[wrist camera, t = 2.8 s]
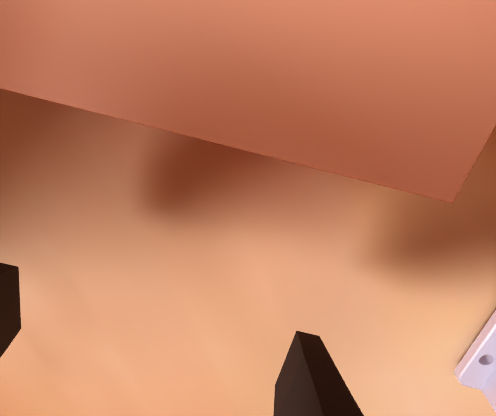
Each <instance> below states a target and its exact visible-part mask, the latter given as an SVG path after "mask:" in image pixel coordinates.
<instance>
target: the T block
mask: <svg viewBox="0 0 496 416" xmlns="http://www.w3.org/2000/svg"><path fill="white" fill-rule="evenodd" d="M0 88H1V89H5V90H9V91H13V92H17V93H21V94H24V95H28V96H32V97H36V98H40V99H44V100H48V101H52V102H56V103H60V104H64V105H68V106H72V107H76V108H80V109H83V110H87V111H91V112H95V113H99V114H103V115H107V116H111V117H115V118H119V119H123V120H127V121H131V122H135V123H139V124H142V125H146V126H150V127H154V128H158V129H162V130H166V131H170V132H174V133H178V134H182V135H186V136H190V137H194V138H198V139H201V140H205V141H209V142H213V143H217V144H221V145H225V146H229V147H233V148H237V149H241V150H245V151H249V152H253V153H256V154H260V155H264V156H268V157H272V158H276V159H280V160H284V161H288V162H292V163H296V164H300V165H304V166H308V167H312V168H315V169H319V170H323V171H327V172H331V173H335V174H339V175H343V176H347V177H351V178H355V179H359V180H363V181H367V182H371V183H374V184H378V185H382V186H386V187H390V188H394V189H398V190H402V191H406V192H410V193H414V194H418V195H422V196H426V197H430V198H433V199H437V200H441V201H445V202H449V203H453V201H454V200H455V198H456V196H457V194H458V192H459V191H460V189H461V187H462V185H463V183H464V181H465V180H466V178H467V176H468V174H469V172H470V171H471V169H472V167H473V165H474V163H475V162H476V160H477V158H478V156H479V154H480V153H481V151H482V149H483V147H484V145H485V144H486V142H487V140H488V138H489V136H490V135H491V133H492V131H493V129H494V127H495V126H496V0H0Z"/></svg>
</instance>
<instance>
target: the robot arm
mask: <svg viewBox="0 0 496 416" xmlns="http://www.w3.org/2000/svg"><path fill="white" fill-rule="evenodd" d="M20 329H21V317H20V293H19V269H18V267H17V266H12V265H8V264H3V263H0V357H1V356H2V355H3V353H4V352H5V351H6V349H7V348H8V346H9V345H10V343H11V342H12V341H13V339H14V338H15V336H16V335H17V333H18V332H19V331H20ZM454 372H455V376H456V378H457V379H458V381H459V382H460V383H461V384H462V385H464V386H467V387H471V388H475V389H479V390H481V391H482V392H483V394H484V395H485V397H486V398H487V400H488V402H489V403H490V405H491V406H492V408H493V409H494V411H495V412H496V310H495V312H494V313H493V315H492V316H491V318H490V319H489V321H488V322H487V323H486V325H485V326H484V328H483V329H482V331H481V332H480V334H479V335H478V337H477V338H476V339H475V341H474V342H473V344H472V345H471V347H470V348H469V350H468V351H467V353H466V354H465V355H464V357H463V358H462V360H461V361H460V363H459V364H458V366H457V367H456V369H455V371H454ZM274 416H364V415H363V414H362V412H361V410H360V408H359V407H358V405H357V403H356V402H355V400H354V398H353V396H352V395H351V393H350V391H349V389H348V388H347V386H346V384H345V382H344V380H343V379H342V377H341V375H340V373H339V371H338V369H337V368H336V366H335V364H334V362H333V360H332V358H331V356H330V355H329V353H328V351H327V349H326V347H325V345H324V344H323V342H322V340H321V338H320V337H319V336H317V335H313V334H308V333H304V332H300V331H296V333H295V336H294V339H293V341H292V344H291V346H290V349H289V351H288V354H287V356H286V359H285V361H284V364H283V366H282V369H281V372H280V374H279V377H278V379H277V382H276V384H275V399H274Z"/></svg>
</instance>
